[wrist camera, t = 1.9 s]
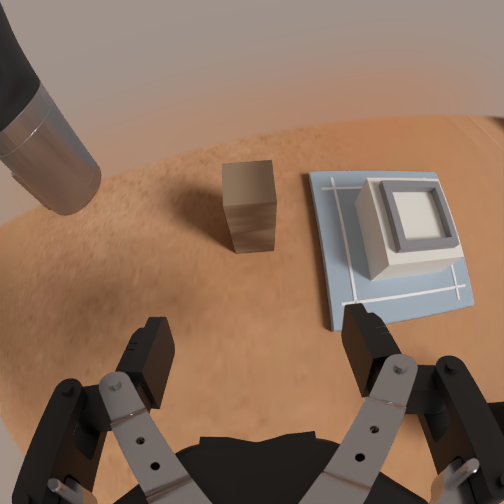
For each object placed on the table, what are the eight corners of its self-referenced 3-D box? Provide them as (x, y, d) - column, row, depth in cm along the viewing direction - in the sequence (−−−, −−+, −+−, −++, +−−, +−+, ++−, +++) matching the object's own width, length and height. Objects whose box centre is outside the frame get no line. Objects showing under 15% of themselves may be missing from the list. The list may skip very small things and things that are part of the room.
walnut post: (235, 253, 31) (222, 206, 22) (234, 219, 32) (222, 164, 23) (273, 250, 31) (276, 201, 21) (270, 217, 32) (271, 160, 23)
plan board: (331, 332, 27) (351, 322, 21) (308, 177, 34) (316, 137, 27) (468, 306, 27) (506, 291, 20) (432, 177, 34) (454, 145, 27)
